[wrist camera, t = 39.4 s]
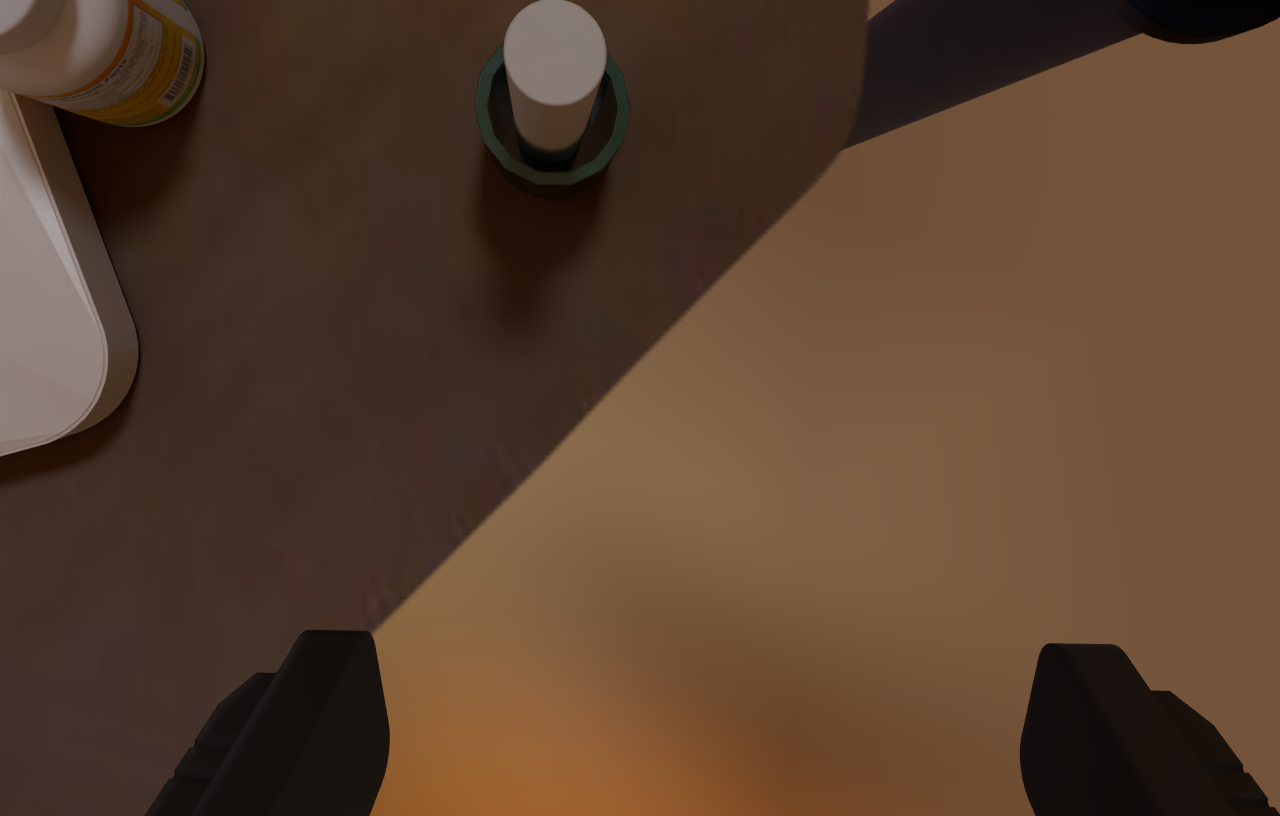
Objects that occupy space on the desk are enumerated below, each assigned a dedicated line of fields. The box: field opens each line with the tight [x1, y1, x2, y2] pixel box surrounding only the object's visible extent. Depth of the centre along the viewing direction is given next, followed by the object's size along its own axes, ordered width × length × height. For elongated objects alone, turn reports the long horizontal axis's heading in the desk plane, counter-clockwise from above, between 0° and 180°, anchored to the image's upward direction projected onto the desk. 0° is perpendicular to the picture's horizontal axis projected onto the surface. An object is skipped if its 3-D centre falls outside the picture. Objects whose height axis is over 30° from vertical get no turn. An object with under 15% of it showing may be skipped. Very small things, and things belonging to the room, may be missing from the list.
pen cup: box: [474, 41, 630, 199], centre depth 31 cm, size 5×5×6 cm
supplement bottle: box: [0, 0, 204, 127], centre depth 27 cm, size 5×5×10 cm
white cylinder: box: [503, 0, 607, 168], centre depth 27 cm, size 2×2×13 cm
